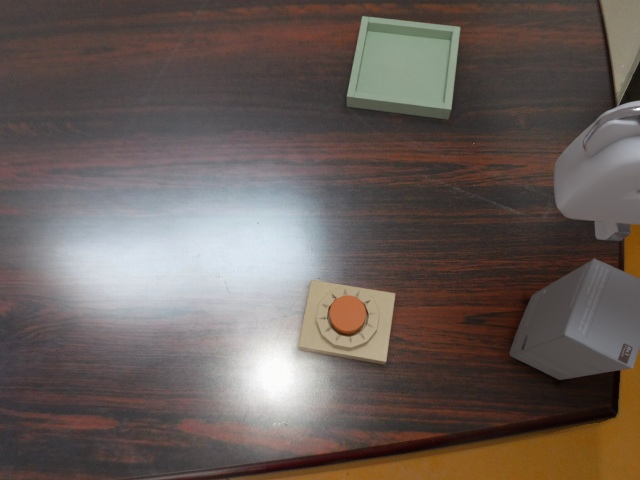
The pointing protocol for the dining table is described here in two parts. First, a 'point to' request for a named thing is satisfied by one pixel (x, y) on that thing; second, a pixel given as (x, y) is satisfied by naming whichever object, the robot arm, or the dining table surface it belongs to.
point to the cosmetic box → (582, 323)
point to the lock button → (347, 314)
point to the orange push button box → (358, 345)
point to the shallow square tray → (404, 67)
